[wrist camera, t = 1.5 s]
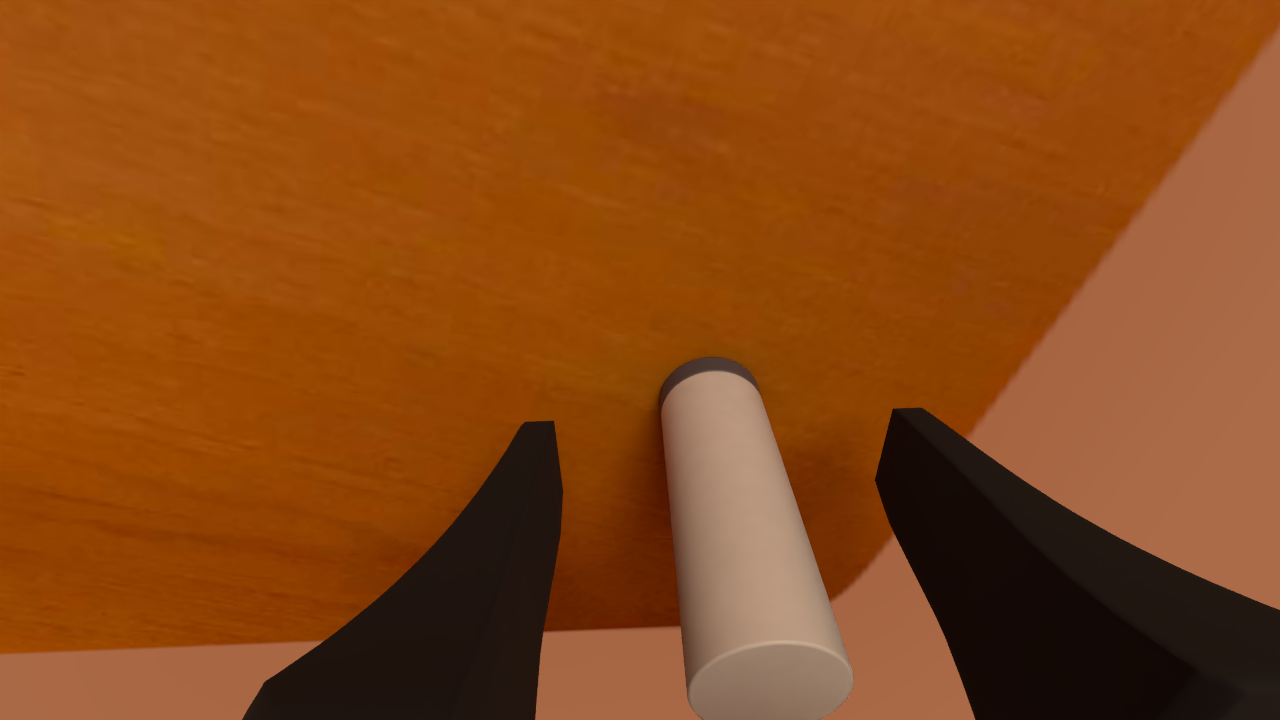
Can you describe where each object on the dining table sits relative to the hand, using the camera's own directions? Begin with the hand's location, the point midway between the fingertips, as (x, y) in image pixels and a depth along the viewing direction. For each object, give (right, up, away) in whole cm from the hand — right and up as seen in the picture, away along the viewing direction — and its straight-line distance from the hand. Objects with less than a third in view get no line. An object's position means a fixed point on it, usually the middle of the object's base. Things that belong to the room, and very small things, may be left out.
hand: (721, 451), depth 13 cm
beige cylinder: (0, +1, +2) cm, 2 cm away
